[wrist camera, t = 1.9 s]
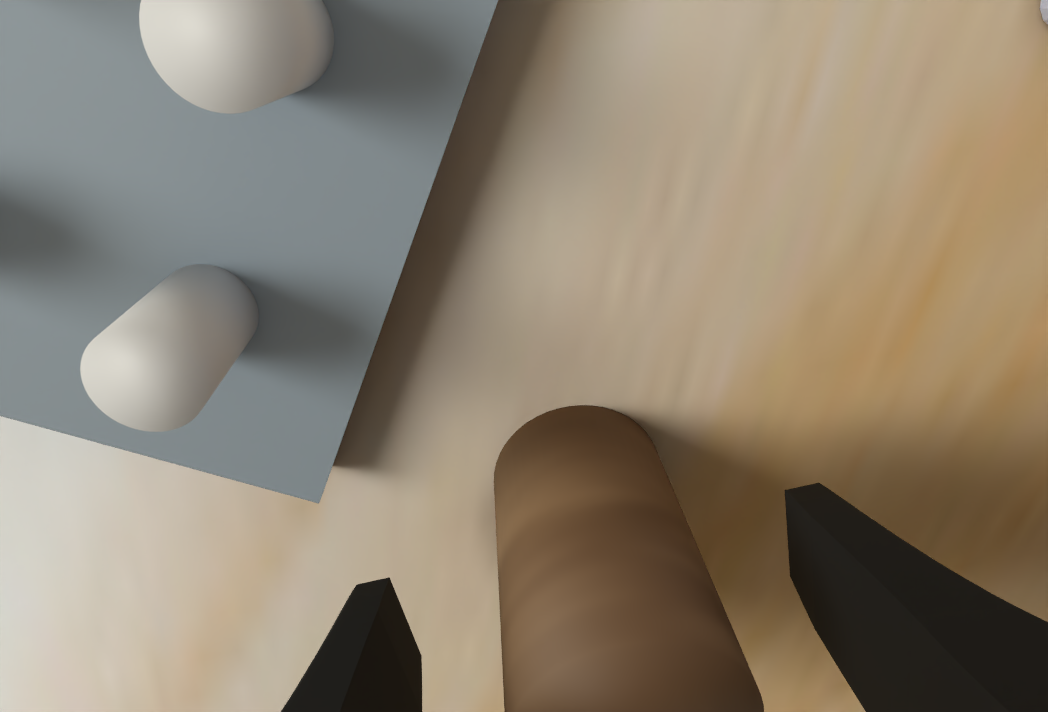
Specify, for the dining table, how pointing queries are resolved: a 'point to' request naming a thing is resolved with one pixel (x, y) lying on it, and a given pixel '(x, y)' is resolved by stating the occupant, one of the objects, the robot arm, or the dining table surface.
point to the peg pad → (214, 215)
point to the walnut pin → (605, 578)
